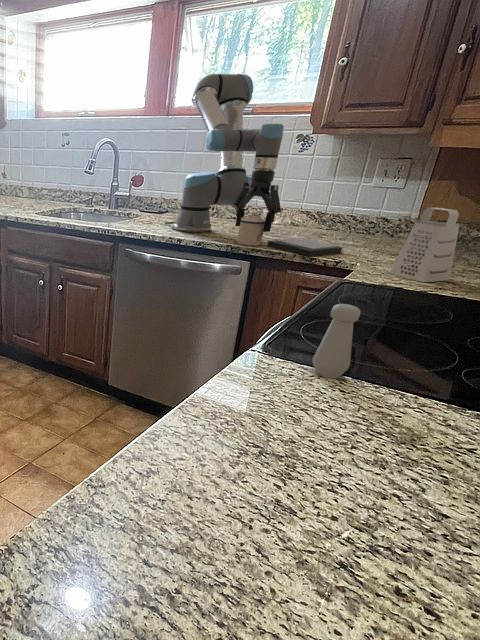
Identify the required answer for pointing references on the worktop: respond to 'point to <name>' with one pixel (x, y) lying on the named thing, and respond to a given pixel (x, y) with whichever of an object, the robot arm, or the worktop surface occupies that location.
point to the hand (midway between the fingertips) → (252, 228)
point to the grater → (429, 249)
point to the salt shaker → (336, 342)
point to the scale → (305, 247)
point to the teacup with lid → (251, 230)
